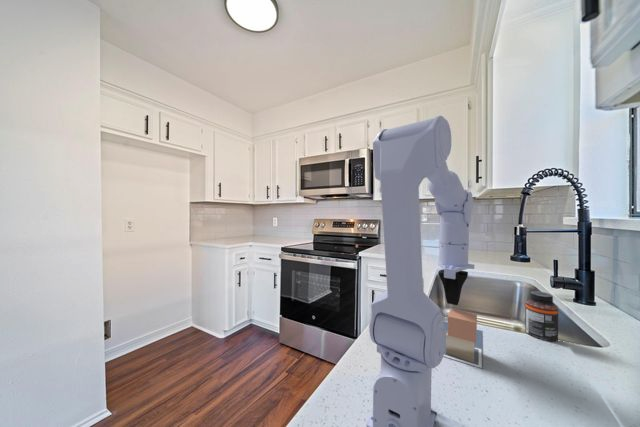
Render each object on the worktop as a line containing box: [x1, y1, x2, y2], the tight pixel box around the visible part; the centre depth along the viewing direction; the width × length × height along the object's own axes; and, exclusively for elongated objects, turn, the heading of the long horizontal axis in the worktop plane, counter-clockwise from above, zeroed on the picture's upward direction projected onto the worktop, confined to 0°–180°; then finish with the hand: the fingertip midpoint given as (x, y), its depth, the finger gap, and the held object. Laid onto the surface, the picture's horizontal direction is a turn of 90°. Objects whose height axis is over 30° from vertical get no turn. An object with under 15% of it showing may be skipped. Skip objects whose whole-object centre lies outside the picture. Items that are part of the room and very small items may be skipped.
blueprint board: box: [443, 321, 484, 370], centre depth 57 cm, size 18×14×1 cm
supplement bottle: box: [524, 290, 559, 343], centre depth 59 cm, size 6×6×11 cm
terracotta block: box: [447, 308, 478, 343], centre depth 51 cm, size 5×5×4 cm
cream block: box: [446, 330, 475, 362], centre depth 51 cm, size 5×5×4 cm
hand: (452, 303), depth 54 cm, fingers closed
